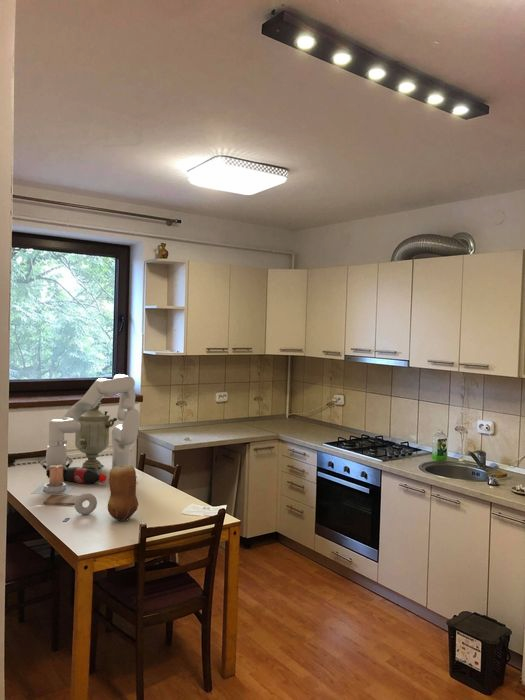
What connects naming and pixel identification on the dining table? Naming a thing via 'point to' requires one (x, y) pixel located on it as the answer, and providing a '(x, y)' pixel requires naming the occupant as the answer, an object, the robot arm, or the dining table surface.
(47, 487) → the squash holder
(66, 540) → the dining table surface
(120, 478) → the butternut squash
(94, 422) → the samovar
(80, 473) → the cola bottle
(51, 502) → the walnut board
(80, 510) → the donut
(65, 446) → the robot arm
